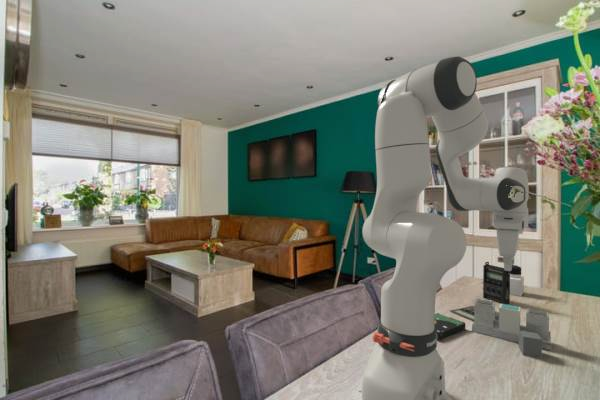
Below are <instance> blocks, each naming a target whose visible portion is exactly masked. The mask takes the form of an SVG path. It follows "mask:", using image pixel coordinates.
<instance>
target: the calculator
mask: <svg viewBox="0 0 600 400" xmlns="http://www.w3.org/2000/svg"><path fill="white" fill-rule="evenodd" d="M449 312H450V313H452V314H454V315H457V316H459V317H461V318H464V319H466V320H469V321H472V323H473V322H474V305H470V306H465V307H461V308H455V309H451V310H450V311H449ZM495 320H499V311H495Z"/></svg>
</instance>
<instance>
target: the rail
mask: <svg viewBox="0 0 600 400" xmlns="http://www.w3.org/2000/svg"><path fill="white" fill-rule="evenodd" d="M473 306H474V322H473V321H472V325H471V332H473V333H478V334H482V335H486V336H490V337H494V338H498V339H502V340H506V341H509V342H510V341H511V342H514V343H518V344H519V335H516V334H512V333H508V332H503V331H499V319H498V320H495V310H496V309H495V307H496V302H494V301H491V300H486V299H485V300H484V299H478V298H476V299H475V301H474V304H473ZM525 312H526V313H525V319H526V320H525V325H522V324H520V331H526V332H533V333H537V334H538V335H539V336H540V338H541V339H542V350H547V351H552V340H551V337H552V336H551V331H550V316H549V312H548V311H544V310H538V309H532V308H526V311H525Z"/></svg>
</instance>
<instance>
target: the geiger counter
mask: <svg viewBox="0 0 600 400" xmlns="http://www.w3.org/2000/svg"><path fill="white" fill-rule="evenodd" d="M482 271H483V275H482V277H483V279H482V280H483V281H482V284H483V285H482V291H483V292H482V298H483V299H484V298H486V299H485V300H487V301H491V300H492V301H491V302H495V303H498V304H499V305H500V304H506V305H511V304H510V303H511V301H510V299H511V298H510V297H511V294H510V271H505V270H504V267H501V266H497V265H492V264H490V262H489V261H485V262H484V265H483V270H482Z"/></svg>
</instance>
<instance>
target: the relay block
mask: <svg viewBox="0 0 600 400" xmlns="http://www.w3.org/2000/svg"><path fill="white" fill-rule="evenodd" d="M518 349H519V351H520V352H521V354H522V355H523V356H525V357H531V358H537V359H538V358H539V359H542V357H543V355H542V353H543V349H542V339H541V338H540V336H539V335H538V334H537V333H533V332H526V331H519V343H518Z"/></svg>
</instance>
